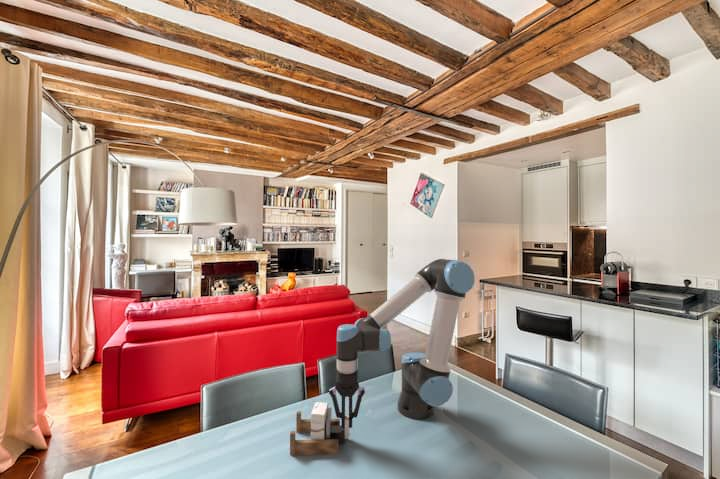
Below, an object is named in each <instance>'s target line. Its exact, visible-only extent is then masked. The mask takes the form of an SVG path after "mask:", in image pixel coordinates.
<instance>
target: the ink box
mask: <svg viewBox="0 0 720 479" xmlns="http://www.w3.org/2000/svg"><path fill="white" fill-rule="evenodd" d="M328 408H329V402H326V401H325V402H323V401H322V402H321V401H316V402H315V403H314V404H313V408H312V410H311V413H310V414H311V415H310V419H311V432H310V440H326V422H327V414H328Z"/></svg>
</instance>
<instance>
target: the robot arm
mask: <svg viewBox="0 0 720 479" xmlns="http://www.w3.org/2000/svg"><path fill="white" fill-rule="evenodd" d="M474 284H475V272H474V270H473V269H472V268H471V266H470V265H469V264H468V263H466V262H464V261H461V260H459V259H446V258H437V259H435V260H433V261H431V262H430V263H428V264H427V265H425V266H424V267H423V268H422V269H420V270H419V271H418V272H416V273H415V275H414V278H412V280H410V281H409V282H408V283H407V284H405V285H404V286H402V287H401V289H399V290H398V291H397V292H396V293H394V294H393V295H392V296H391V297H390V298H388V299H387V300H386V301H384V303H382V304H381V305H380V306H379V307H377V308H376V309H375V310H374V311H372V312H371V313H370V314H368V315H367V316H366V317H365V318H364V317H363V318H359V319H357V320H356V321H355V322H354V324H353V323H351V324H349V323H346V324H341V325H339V326H338V327H337V330H336V381H335V384H334V386H333V387H330V388H329V390H328V394H329V396H330V397H331V401H332V404H333V407H334V412H335V415H336V416H335V417H336V419H340V421H341V426H342V428H345V440H347V439H348V440H349V439H350V429H352V428H353V419H354V418H355V419H356V418H358V416H359V411H360V407H361V402H362V400H363V399H362V398H363V397H364V395H365V393H366V390H365V387H361V386H360V384H359V378H358V376H359V372H358V368H359V361H358V360H359V356H358V355H359V353H367V352H369V353H370V352H382V351H388V350H389V349H390V348H391V344H392V338H391V333H390V331H389V329H387V328H385V327H386V326H387V325H389V323H391V322H392V321H393V320H395V318H397V317H398V316H399V315H401V314H402V313H403V312H404V311H405V310H407V309H408V308H409V307H410V306H412V304H414V303H415V302H417V300H419V299H420V298H421V297H422V296H423V295H425V294H426V293H431V292H432V291H433V292H434V293H435V295H436V300H435V304H434V305H435V306H434V310H433V315H432V320H431V325H430V330H429V334H428V340H427V344H426V349H425V353H424V352H407V353H405V354H402V356H401V391H400V394H399V397H398V400H397V410H398V412H399V413H400V414H401V415H402V416H405V417H406V418H409V419H415V420H422V419H427V418H430V417H431V416H433V414H434V412H435V411H434V410H435V407H441V406H443V405H445V403H448V401H449V400H450V399H451V398H452V395H453V392H454V391H453V389H454V387H453V386H454V385H453V384H452V381H451V380H450V375H451V368H450V365H449V364H448V363H449V357H450V352H451V347H452V344H453V343H452V342H453V337H454V332H455V327H456V323H457V316H458V314H459V312H458V311H459V307H460V302H462V301H463V300H465V297H466V294H467V292H470V290H471V289H473V287H474ZM356 392H357V393H358V394H357V398H356V401H355V406H354V410H353V397H354V396H355V394H356ZM337 393H338V394H339V396H340V397H341V410H340V406H339V402H338V398H337ZM347 397H348V415H346V398H347Z"/></svg>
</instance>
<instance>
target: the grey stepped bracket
mask: <svg viewBox="0 0 720 479" xmlns="http://www.w3.org/2000/svg"><path fill="white" fill-rule="evenodd" d="M332 412H333V411H332V407H328V414H327V422H326V440H329V439H339V445H345V443H346V442H345V441H346V439H345V428H342V425H340V426H332V419H333V418H332V414H333V413H332Z"/></svg>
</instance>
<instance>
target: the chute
mask: <svg viewBox="0 0 720 479" xmlns="http://www.w3.org/2000/svg"><path fill="white" fill-rule="evenodd" d="M295 415H296V417H295V418H296V419H295V420H296V422H295V423H296V425H295V426H296V429H295V430H291V431H290V433H289V456H309V455H310V456H315V455H316V456H319V455H320V456H321V455H324V456H325V455H339V451H340V450H339V446H340V444H339V439H329V440H311V439H296V433H298V434H299V433H311V418H310V419H309V418H307V419H306V418H304V419H303V418H302V411H301V410H300V411H299V410H298V411H296V414H295ZM332 426H341V418H332Z"/></svg>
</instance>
